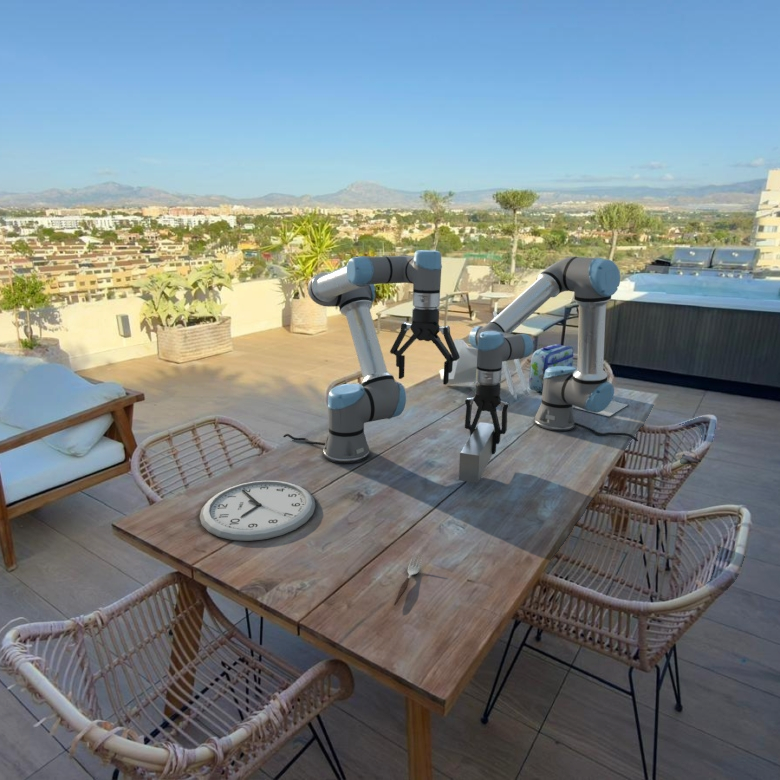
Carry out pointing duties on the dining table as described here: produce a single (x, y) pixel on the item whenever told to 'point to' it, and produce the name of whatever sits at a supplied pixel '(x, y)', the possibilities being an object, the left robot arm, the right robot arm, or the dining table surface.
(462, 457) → the bar
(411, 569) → the fork
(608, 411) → the invitation card
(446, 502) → the dining table surface
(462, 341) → the white plastic object
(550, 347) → the lunch box
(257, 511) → the wall clock
